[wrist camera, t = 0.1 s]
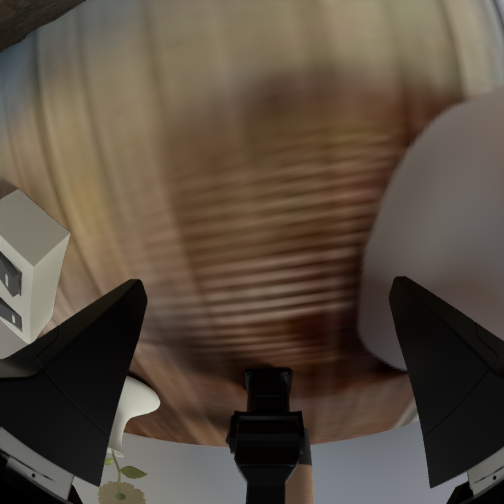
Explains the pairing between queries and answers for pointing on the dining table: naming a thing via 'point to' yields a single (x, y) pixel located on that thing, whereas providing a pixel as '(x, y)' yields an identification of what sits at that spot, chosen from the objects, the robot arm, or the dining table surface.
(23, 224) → the box
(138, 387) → the flower in vase
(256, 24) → the dining table surface
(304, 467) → the travel mug
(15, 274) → the rocker
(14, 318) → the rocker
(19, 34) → the driftwood
